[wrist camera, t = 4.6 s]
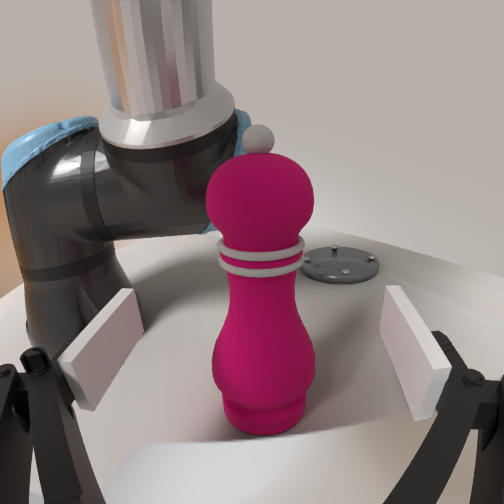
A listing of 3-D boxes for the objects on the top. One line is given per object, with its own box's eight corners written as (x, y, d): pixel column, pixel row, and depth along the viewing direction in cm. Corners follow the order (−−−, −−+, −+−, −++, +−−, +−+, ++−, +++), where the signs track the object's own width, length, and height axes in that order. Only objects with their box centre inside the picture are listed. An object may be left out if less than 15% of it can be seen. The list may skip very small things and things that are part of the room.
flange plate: (302, 285, 43) (302, 274, 43) (298, 254, 55) (298, 245, 54) (387, 282, 42) (388, 271, 42) (367, 252, 53) (367, 243, 53)
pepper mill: (313, 441, 19) (336, 120, 13) (210, 438, 20) (172, 126, 13) (307, 376, 26) (316, 127, 20) (224, 376, 27) (206, 130, 20)
